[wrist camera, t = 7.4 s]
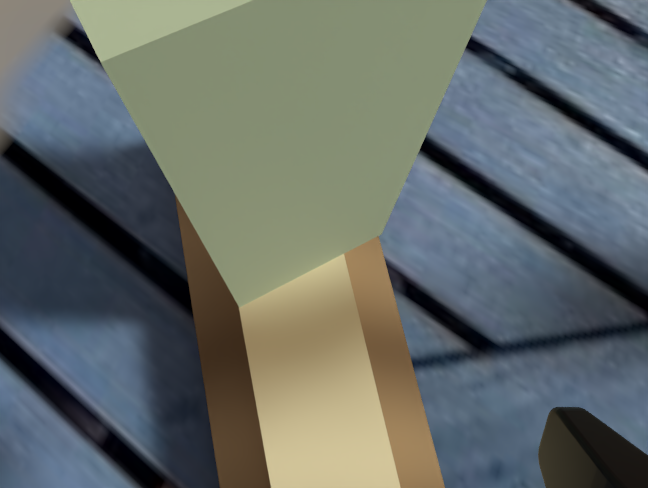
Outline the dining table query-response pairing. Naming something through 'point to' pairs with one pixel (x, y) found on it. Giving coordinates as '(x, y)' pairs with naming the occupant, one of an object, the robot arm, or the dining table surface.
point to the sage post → (281, 115)
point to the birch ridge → (310, 377)
